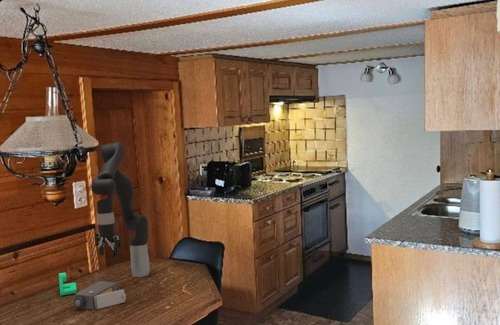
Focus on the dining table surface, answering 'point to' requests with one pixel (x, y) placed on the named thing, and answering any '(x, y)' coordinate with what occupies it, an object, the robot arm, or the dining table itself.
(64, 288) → the camera mount
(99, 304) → the side door
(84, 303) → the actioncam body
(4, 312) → the dining table surface
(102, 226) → the robot arm
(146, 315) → the dining table surface
